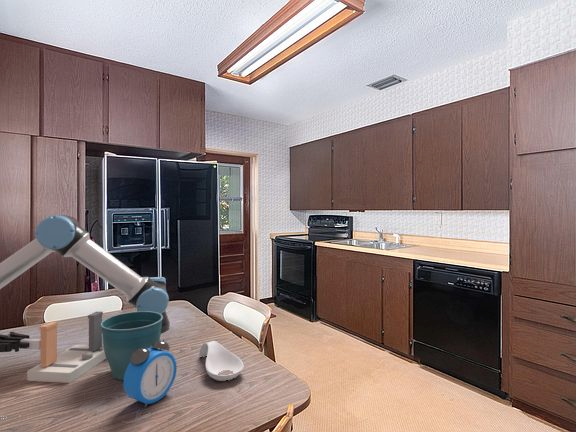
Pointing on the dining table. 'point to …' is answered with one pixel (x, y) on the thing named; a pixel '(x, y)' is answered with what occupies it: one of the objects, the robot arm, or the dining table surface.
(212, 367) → the spoon rest
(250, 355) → the dining table surface
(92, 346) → the gray capped upright block
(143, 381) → the alarm clock
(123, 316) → the flower pot
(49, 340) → the terracotta paddle
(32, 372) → the console
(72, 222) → the robot arm
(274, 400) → the dining table surface
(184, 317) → the dining table surface
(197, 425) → the dining table surface
